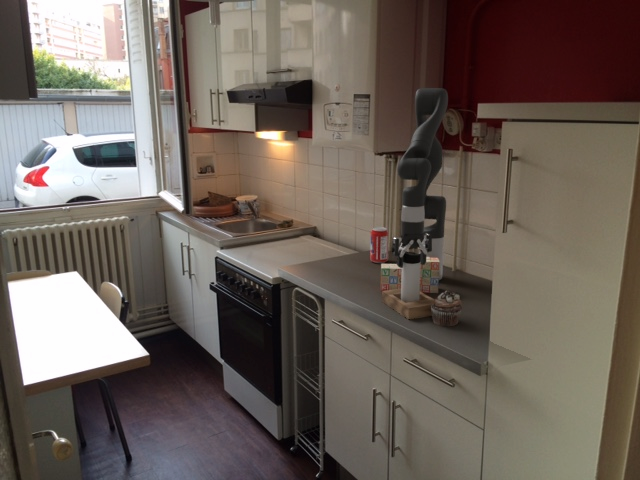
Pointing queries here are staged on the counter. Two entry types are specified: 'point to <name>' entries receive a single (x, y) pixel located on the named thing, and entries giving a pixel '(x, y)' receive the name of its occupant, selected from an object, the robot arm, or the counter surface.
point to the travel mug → (410, 277)
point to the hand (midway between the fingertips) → (411, 265)
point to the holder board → (408, 304)
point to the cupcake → (446, 309)
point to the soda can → (379, 245)
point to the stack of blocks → (427, 276)
